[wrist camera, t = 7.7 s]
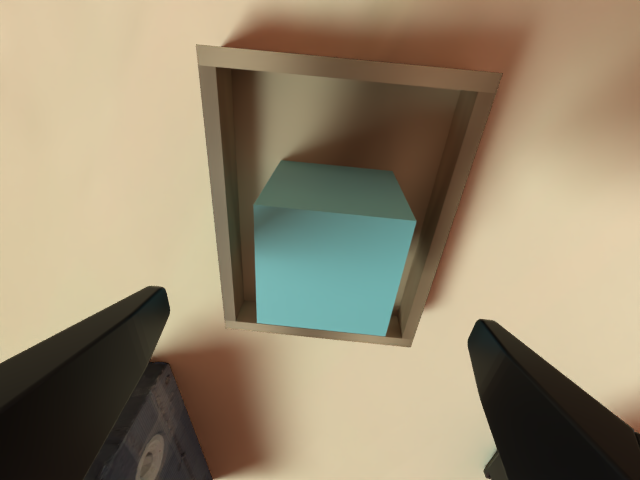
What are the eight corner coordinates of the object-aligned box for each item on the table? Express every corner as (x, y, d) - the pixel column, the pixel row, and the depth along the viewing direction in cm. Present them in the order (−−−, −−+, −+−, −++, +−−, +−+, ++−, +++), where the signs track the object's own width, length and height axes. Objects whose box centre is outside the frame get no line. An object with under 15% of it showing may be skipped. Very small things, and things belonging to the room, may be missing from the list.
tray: (476, 71, 12) (502, 73, 10) (403, 317, 19) (410, 347, 17) (219, 47, 12) (195, 44, 10) (237, 300, 19) (225, 328, 17)
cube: (392, 171, 14) (416, 220, 9) (373, 263, 16) (385, 336, 12) (281, 160, 14) (253, 204, 9) (279, 253, 16) (256, 322, 12)
